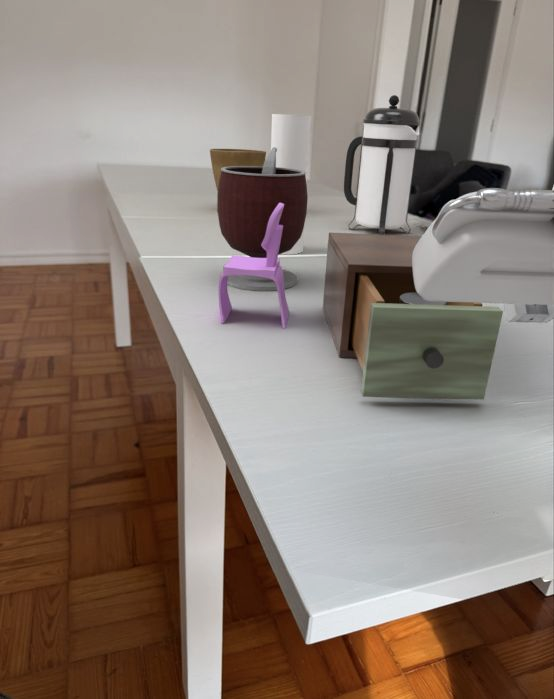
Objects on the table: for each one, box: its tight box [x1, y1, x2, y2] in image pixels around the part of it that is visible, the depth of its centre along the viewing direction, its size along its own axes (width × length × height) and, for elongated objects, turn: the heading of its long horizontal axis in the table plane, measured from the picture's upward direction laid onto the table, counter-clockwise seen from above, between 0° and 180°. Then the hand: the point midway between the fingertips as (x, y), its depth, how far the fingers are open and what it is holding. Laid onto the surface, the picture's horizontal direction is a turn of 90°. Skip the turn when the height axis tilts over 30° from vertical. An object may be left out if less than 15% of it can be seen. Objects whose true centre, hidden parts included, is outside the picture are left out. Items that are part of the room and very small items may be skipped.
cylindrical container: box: [270, 113, 312, 256], centre depth 105 cm, size 7×7×25 cm
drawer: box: [349, 272, 504, 400], centre depth 57 cm, size 17×12×9 cm
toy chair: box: [217, 203, 290, 329], centre depth 70 cm, size 8×9×15 cm
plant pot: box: [209, 148, 267, 192], centre depth 147 cm, size 15×15×16 cm
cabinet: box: [322, 232, 423, 359], centre depth 68 cm, size 17×13×11 cm
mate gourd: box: [216, 147, 309, 292], centre depth 86 cm, size 16×14×20 cm
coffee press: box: [343, 94, 422, 235], centre depth 128 cm, size 17×16×30 cm
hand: (523, 313), depth 41 cm, fingers closed
